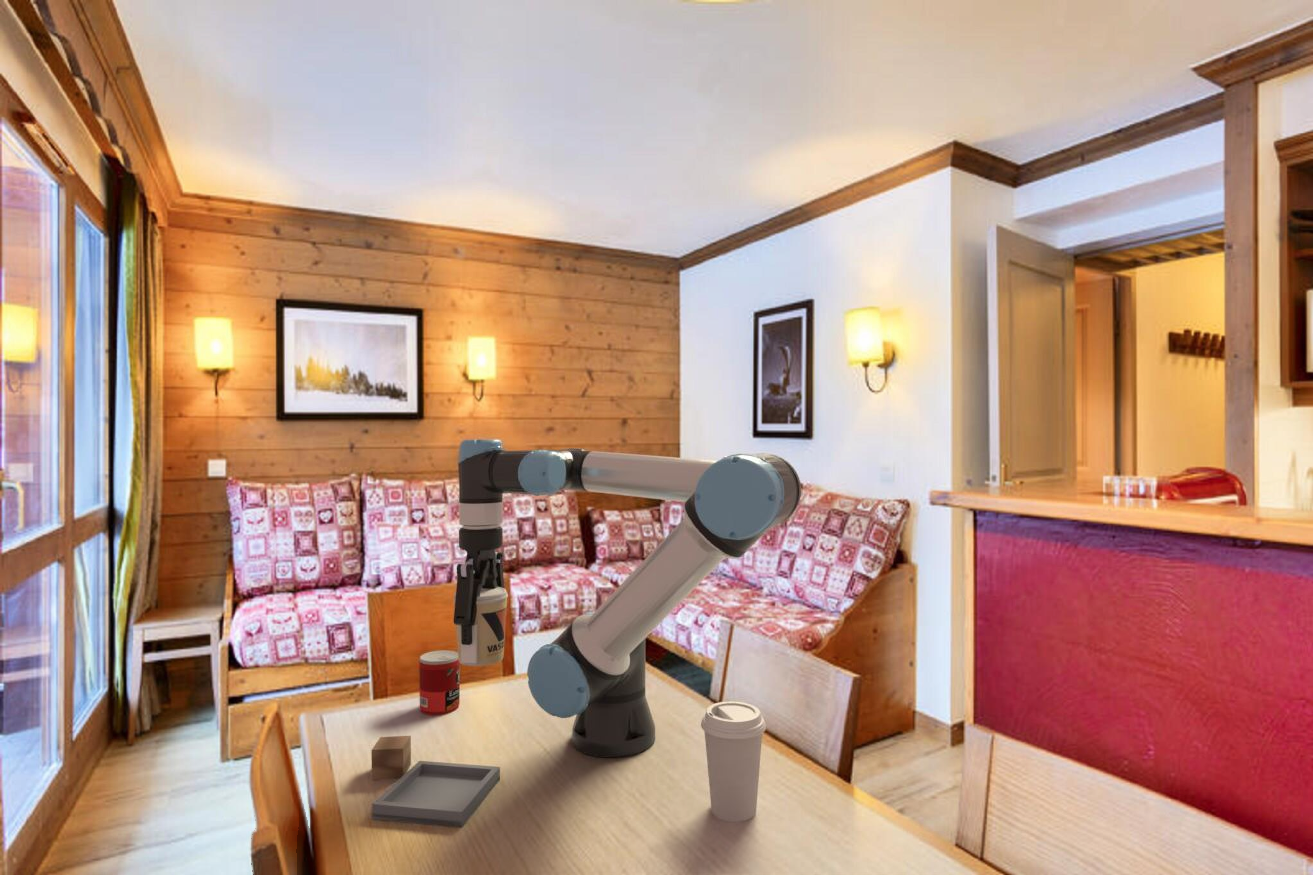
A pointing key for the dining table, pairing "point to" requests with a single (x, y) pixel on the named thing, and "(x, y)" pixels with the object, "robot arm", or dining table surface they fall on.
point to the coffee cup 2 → (733, 758)
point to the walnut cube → (391, 757)
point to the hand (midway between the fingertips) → (481, 654)
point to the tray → (437, 794)
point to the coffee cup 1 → (488, 626)
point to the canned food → (439, 682)
